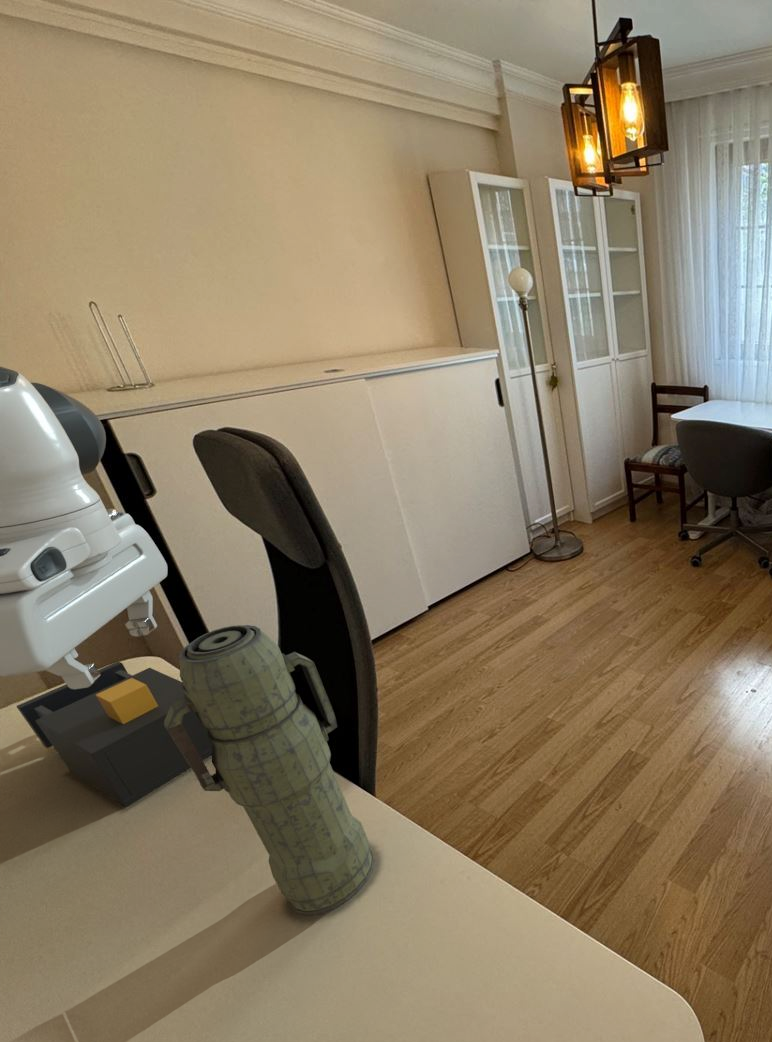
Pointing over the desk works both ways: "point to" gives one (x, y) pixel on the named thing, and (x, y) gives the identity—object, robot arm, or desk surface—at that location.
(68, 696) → the drawer
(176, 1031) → the desk surface
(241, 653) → the thermos
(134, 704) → the block
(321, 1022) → the desk surface
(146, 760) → the cabinet
